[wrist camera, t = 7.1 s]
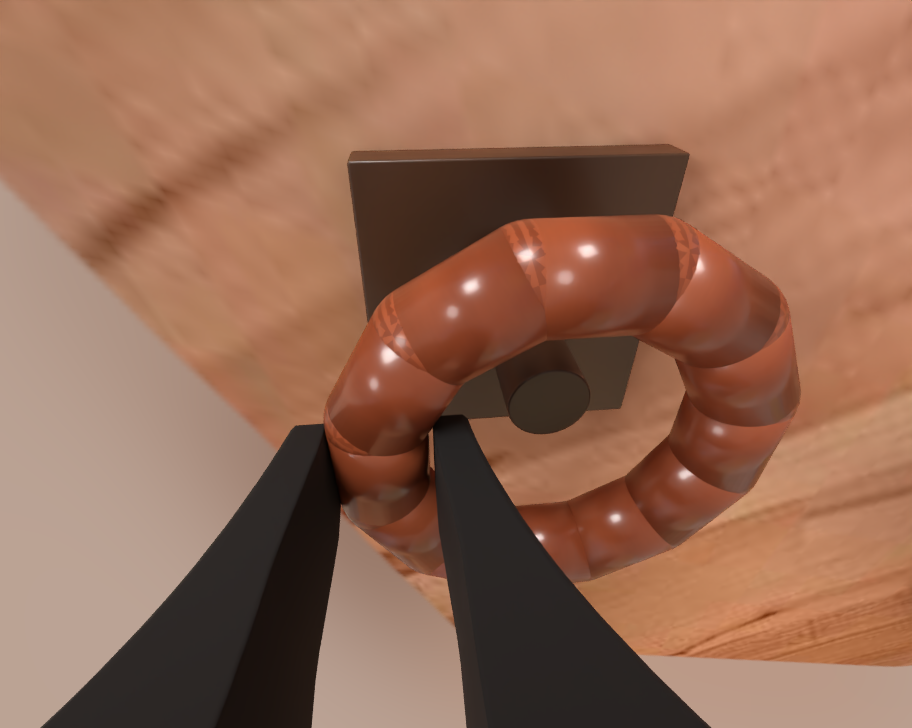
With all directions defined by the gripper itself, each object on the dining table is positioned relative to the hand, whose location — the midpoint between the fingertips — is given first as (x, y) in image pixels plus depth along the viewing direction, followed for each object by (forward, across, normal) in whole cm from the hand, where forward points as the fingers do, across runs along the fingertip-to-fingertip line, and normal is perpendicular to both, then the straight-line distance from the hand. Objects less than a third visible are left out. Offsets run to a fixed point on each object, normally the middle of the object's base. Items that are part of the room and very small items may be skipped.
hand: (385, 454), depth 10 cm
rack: (+7, -4, 0) cm, 8 cm away
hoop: (0, -4, 0) cm, 4 cm away
